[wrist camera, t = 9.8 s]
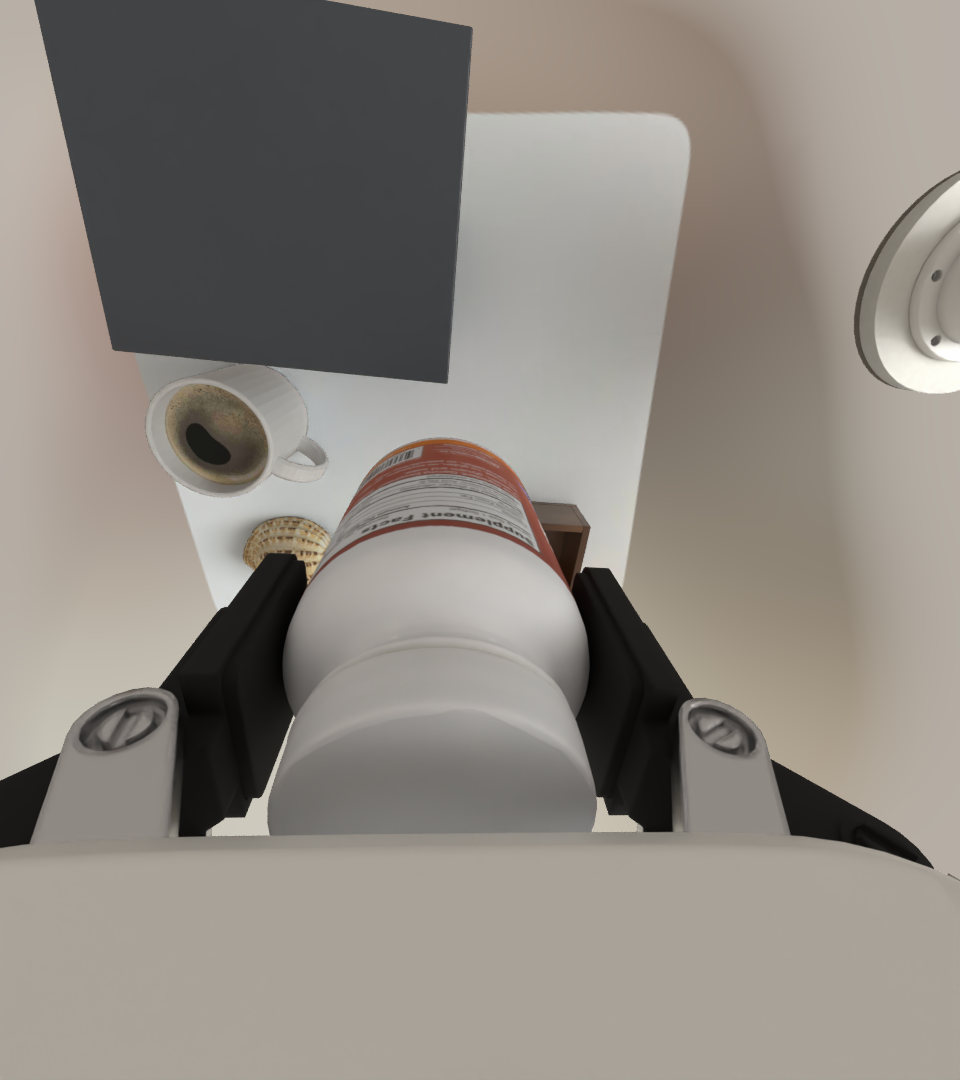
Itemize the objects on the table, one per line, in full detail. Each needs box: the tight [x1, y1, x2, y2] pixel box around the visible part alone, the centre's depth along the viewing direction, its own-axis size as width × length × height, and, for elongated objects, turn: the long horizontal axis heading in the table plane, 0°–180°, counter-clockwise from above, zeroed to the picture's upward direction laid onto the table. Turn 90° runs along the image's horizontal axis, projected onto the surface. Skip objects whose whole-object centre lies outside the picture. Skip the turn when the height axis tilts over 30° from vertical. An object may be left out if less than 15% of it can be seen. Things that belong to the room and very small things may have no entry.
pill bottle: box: [268, 438, 597, 836], centre depth 11 cm, size 6×6×11 cm
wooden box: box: [531, 502, 590, 591], centre depth 48 cm, size 9×9×6 cm
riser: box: [34, 0, 473, 384], centre depth 27 cm, size 12×10×26 cm
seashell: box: [243, 517, 331, 586], centre depth 47 cm, size 8×6×10 cm
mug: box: [145, 364, 329, 497], centre depth 39 cm, size 11×10×10 cm
